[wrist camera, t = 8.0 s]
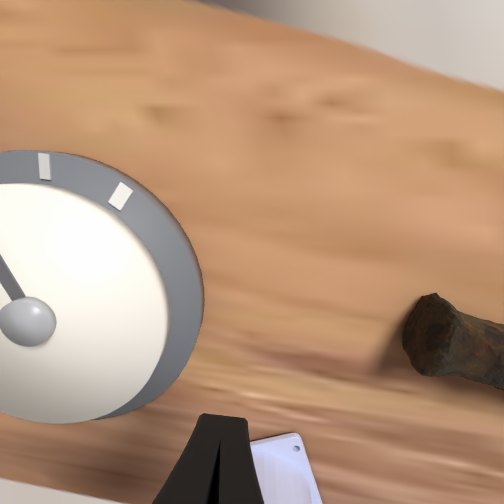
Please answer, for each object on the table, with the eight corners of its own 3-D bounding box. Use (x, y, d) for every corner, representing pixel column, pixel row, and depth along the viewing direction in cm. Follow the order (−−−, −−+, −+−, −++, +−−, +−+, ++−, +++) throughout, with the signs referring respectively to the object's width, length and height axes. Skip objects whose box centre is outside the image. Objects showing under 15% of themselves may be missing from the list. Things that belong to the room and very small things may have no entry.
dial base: (239, 370, 19) (237, 388, 18) (19, 424, 21) (0, 445, 19) (142, 109, 15) (129, 103, 14) (-123, 202, 17) (-161, 206, 15)
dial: (207, 369, 17) (190, 436, 13) (13, 427, 19) (-58, 504, 14) (101, 142, 14) (32, 132, 10) (-125, 234, 15) (-269, 260, 11)
